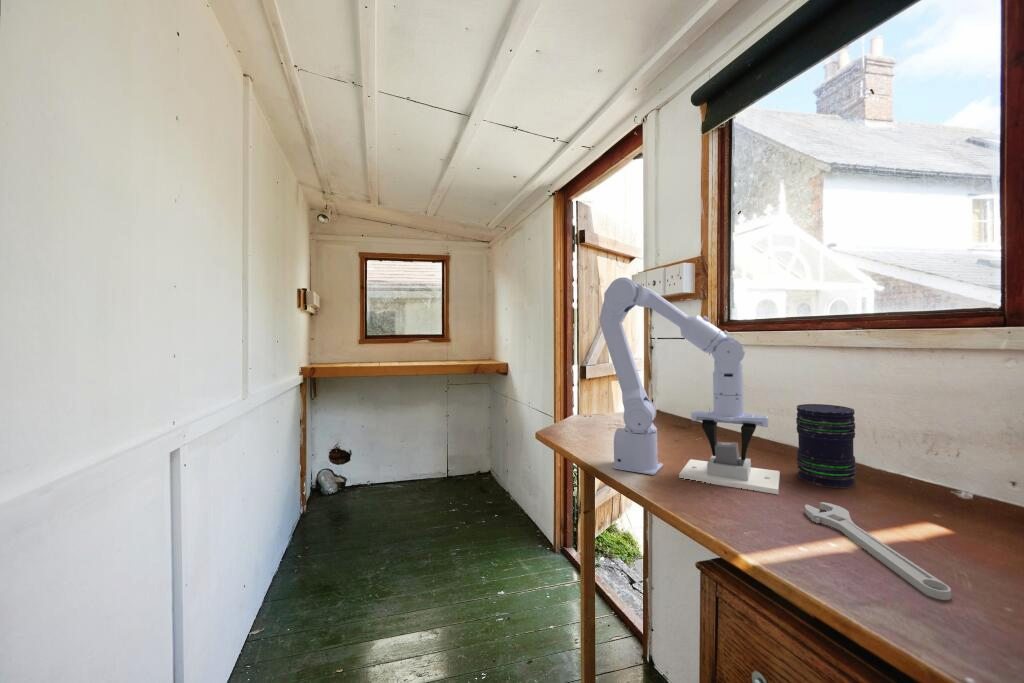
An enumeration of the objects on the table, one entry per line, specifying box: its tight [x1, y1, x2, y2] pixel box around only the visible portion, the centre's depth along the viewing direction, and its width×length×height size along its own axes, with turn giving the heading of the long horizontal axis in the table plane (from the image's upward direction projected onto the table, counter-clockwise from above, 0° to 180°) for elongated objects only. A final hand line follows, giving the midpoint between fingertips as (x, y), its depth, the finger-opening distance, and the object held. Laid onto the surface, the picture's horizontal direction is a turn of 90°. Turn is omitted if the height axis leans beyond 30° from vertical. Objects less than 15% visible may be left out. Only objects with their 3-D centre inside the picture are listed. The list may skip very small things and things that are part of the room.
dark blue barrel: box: [795, 403, 857, 489], centre depth 88 cm, size 10×10×15 cm
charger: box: [715, 441, 740, 466], centre depth 90 cm, size 4×4×6 cm
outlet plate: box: [678, 454, 781, 495], centre depth 90 cm, size 18×12×4 cm, turn 56°
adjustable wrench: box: [804, 501, 952, 601], centre depth 61 cm, size 25×6×2 cm, turn 169°
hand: (729, 456), depth 90 cm, fingers open, 5 cm apart
